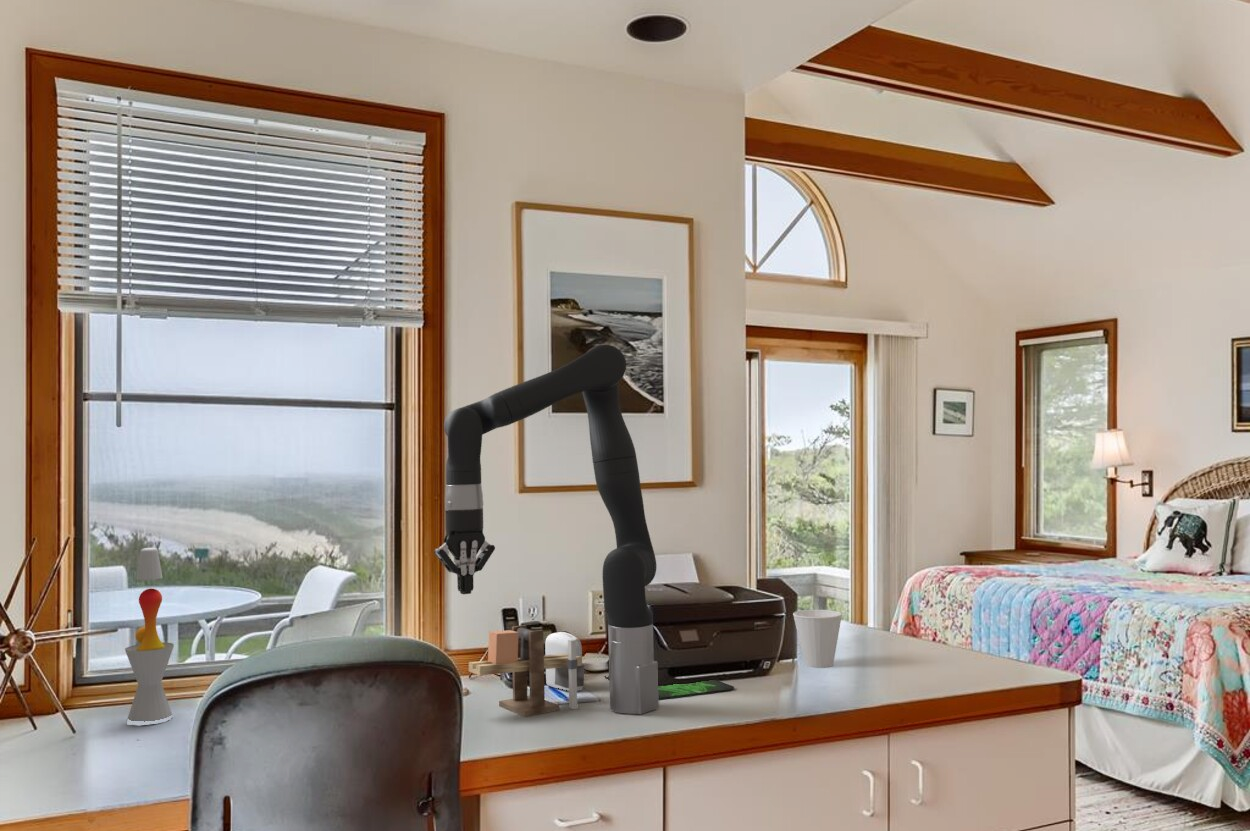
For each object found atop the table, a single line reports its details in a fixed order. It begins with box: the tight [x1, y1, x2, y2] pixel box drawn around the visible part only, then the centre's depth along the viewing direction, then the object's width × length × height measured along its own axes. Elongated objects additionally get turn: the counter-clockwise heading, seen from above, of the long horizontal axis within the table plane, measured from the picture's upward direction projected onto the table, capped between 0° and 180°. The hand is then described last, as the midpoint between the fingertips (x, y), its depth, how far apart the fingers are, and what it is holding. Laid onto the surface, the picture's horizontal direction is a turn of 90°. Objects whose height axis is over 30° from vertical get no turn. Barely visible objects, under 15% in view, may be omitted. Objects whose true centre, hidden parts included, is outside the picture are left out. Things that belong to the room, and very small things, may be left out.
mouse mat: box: [603, 675, 735, 701], centre depth 224 cm, size 27×22×1 cm
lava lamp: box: [124, 547, 175, 722], centre depth 202 cm, size 9×9×35 cm
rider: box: [487, 629, 519, 664], centre depth 202 cm, size 5×3×7 cm
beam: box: [468, 627, 585, 688], centre depth 205 cm, size 25×6×12 cm, turn 125°
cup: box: [792, 609, 843, 669], centre depth 240 cm, size 12×12×12 cm
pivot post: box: [498, 624, 560, 717], centre depth 205 cm, size 8×11×16 cm
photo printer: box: [544, 631, 584, 692], centre depth 222 cm, size 10×4×12 cm, turn 39°
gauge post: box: [567, 639, 578, 710], centre depth 204 cm, size 2×2×14 cm
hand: (465, 593), depth 198 cm, fingers closed
